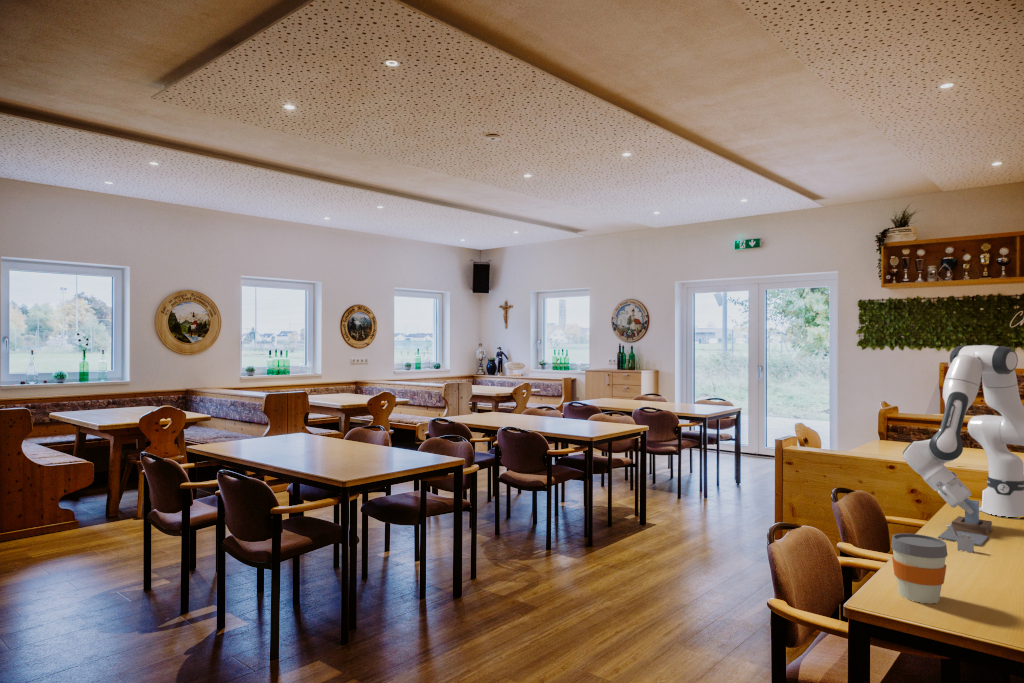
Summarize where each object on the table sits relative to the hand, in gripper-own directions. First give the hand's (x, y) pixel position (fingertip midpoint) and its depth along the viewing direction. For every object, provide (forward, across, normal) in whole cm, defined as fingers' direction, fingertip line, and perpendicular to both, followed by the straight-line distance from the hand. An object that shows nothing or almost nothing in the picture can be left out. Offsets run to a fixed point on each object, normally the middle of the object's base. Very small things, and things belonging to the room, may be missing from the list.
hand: (974, 511), depth 230 cm
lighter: (+6, -31, +4) cm, 32 cm away
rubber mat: (+4, -15, +5) cm, 16 cm away
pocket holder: (+4, 0, +5) cm, 7 cm away
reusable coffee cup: (+6, -87, +3) cm, 87 cm away
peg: (+3, 0, +4) cm, 5 cm away
